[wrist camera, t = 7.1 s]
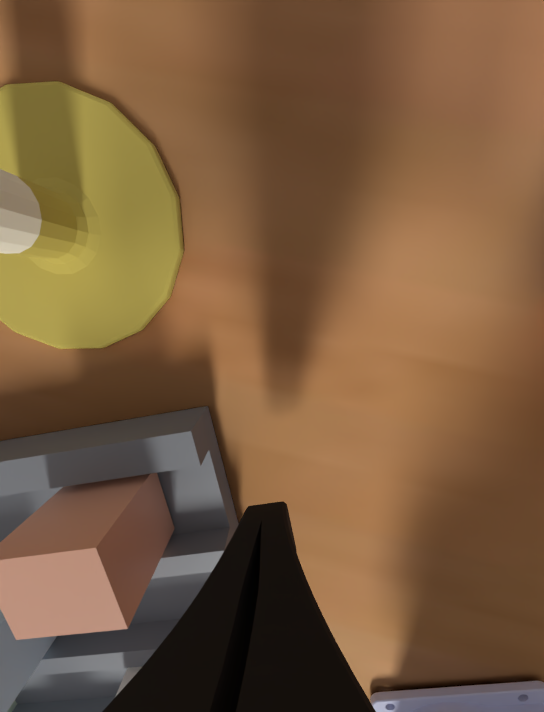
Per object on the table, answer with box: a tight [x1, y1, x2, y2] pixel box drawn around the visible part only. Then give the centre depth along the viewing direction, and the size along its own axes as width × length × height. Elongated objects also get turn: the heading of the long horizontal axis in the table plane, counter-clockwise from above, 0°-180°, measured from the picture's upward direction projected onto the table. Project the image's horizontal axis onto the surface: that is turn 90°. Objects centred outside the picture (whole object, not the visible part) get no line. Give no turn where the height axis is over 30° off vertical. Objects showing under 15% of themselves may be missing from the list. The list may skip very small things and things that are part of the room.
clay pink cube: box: [0, 473, 175, 640], centre depth 11 cm, size 4×3×4 cm
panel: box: [0, 406, 239, 712], centre depth 14 cm, size 16×17×3 cm
